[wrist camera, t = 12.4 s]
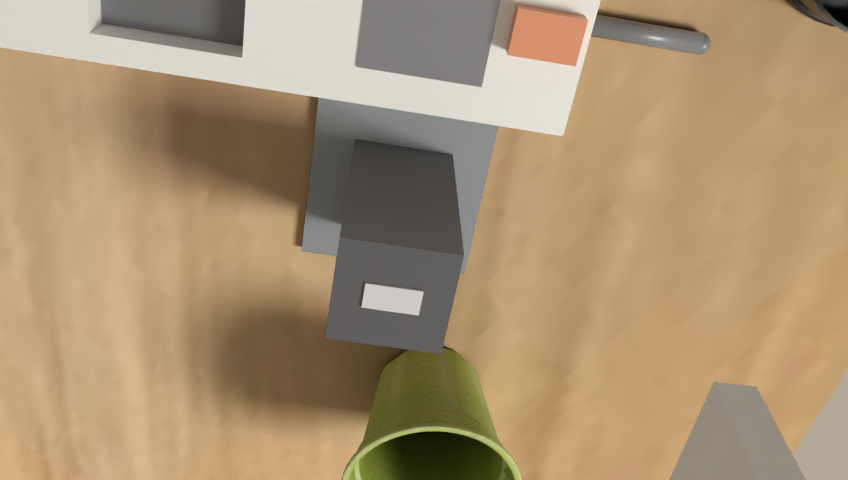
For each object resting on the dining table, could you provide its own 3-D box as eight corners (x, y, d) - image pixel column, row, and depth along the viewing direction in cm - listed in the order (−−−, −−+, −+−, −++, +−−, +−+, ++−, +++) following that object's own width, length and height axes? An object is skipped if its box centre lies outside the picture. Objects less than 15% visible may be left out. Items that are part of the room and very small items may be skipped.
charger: (355, 138, 40) (339, 238, 31) (452, 154, 40) (464, 257, 31) (342, 225, 42) (324, 339, 33) (434, 238, 42) (441, 355, 34)
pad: (319, 91, 39) (318, 94, 38) (498, 120, 40) (499, 123, 39) (302, 247, 43) (301, 251, 43) (463, 269, 44) (463, 273, 44)
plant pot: (498, 442, 51) (513, 556, 43) (351, 439, 50) (341, 554, 43) (512, 324, 46) (532, 428, 38) (350, 320, 46) (338, 425, 38)
